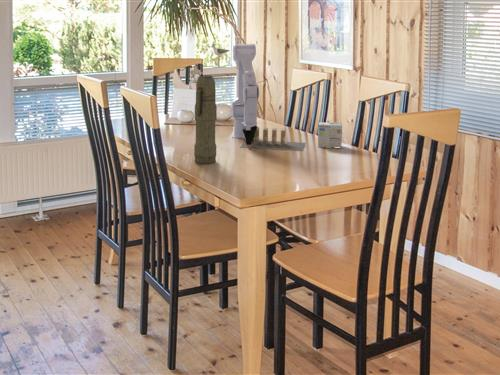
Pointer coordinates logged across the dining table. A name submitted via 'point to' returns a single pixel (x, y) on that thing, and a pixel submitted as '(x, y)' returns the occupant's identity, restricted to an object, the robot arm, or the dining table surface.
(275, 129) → the domino
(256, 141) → the domino
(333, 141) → the light bulb box
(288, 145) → the rubber mat
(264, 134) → the domino
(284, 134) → the domino
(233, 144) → the dining table surface
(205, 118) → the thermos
